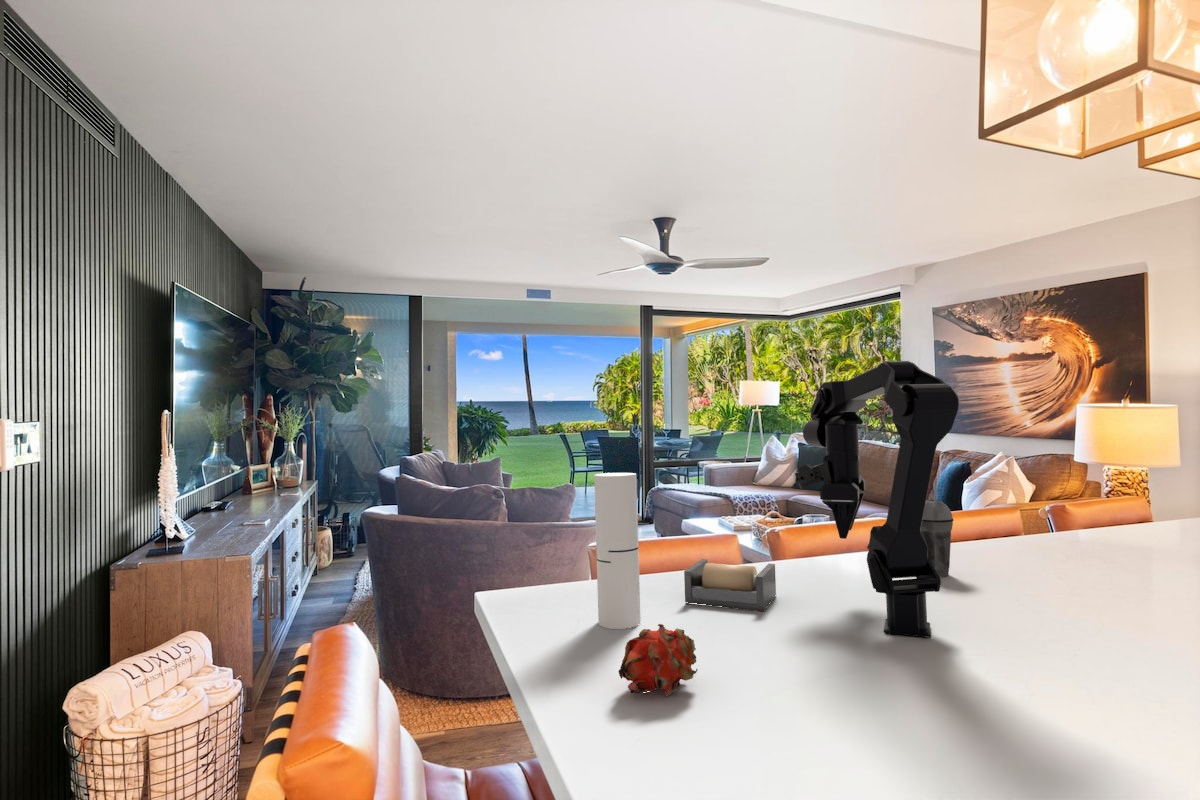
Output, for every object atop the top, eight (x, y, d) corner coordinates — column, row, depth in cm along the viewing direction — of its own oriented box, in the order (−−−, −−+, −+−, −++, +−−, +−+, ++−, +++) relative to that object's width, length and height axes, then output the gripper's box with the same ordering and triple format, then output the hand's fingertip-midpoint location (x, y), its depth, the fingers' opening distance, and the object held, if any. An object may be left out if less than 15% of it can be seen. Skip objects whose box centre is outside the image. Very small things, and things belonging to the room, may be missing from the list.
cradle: (776, 595, 126) (774, 564, 126) (764, 611, 116) (762, 576, 116) (702, 589, 132) (701, 559, 132) (685, 603, 122) (684, 571, 122)
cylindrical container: (637, 629, 108) (632, 475, 109) (594, 628, 109) (590, 476, 110) (643, 617, 115) (639, 472, 116) (603, 615, 116) (598, 472, 117)
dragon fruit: (703, 691, 87) (629, 730, 80) (665, 640, 92) (593, 673, 86) (722, 651, 82) (645, 688, 76) (681, 600, 88) (606, 631, 81)
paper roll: (760, 589, 125) (758, 561, 124) (754, 603, 120) (751, 574, 119) (710, 585, 129) (707, 558, 128) (701, 598, 124) (698, 570, 123)
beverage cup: (909, 573, 140) (905, 478, 141) (933, 569, 144) (929, 476, 144) (939, 580, 134) (935, 481, 135) (964, 575, 137) (959, 478, 138)
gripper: (805, 447, 135) (807, 524, 134) (788, 452, 118) (792, 540, 117) (863, 446, 130) (867, 526, 129) (855, 452, 113) (859, 544, 112)
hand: (845, 534), depth 122 cm, fingers open, 9 cm apart
